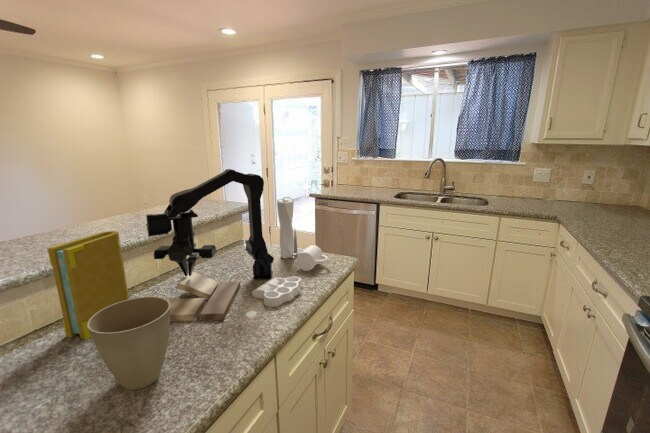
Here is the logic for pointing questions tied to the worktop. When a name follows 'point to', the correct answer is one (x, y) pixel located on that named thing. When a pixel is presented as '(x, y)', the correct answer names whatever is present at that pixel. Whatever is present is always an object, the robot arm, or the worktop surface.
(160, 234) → the robot arm
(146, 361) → the plant pot
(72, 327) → the book
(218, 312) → the walnut board
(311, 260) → the mug
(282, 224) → the skyscraper
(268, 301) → the white honeycomb tray
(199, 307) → the oak plank left
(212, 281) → the oak plank right
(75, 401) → the worktop surface
